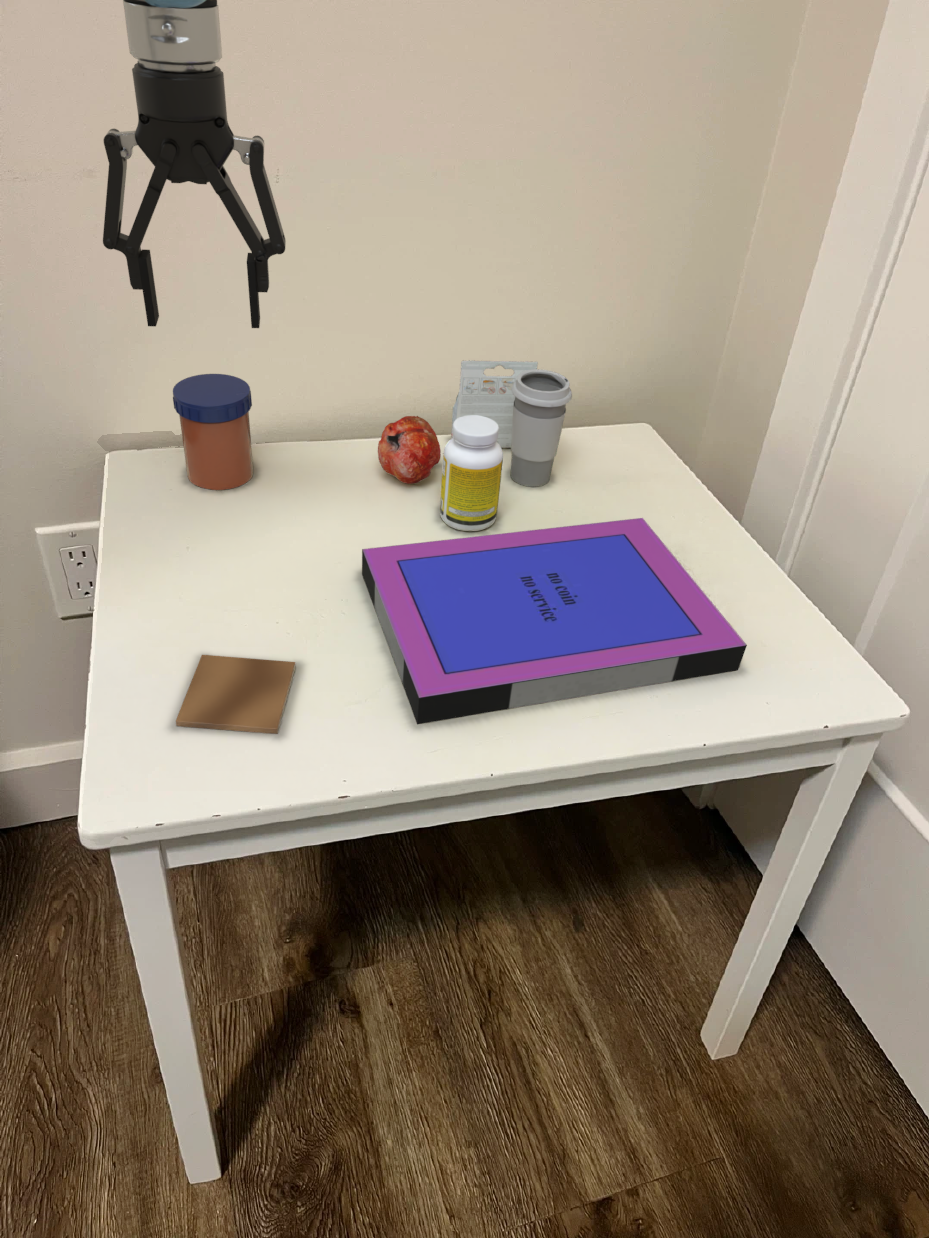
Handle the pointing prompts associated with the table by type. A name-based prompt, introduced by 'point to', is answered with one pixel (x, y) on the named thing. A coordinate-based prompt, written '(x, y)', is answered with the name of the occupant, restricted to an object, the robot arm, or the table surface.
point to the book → (542, 617)
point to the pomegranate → (409, 449)
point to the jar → (218, 453)
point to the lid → (212, 398)
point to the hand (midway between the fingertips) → (205, 322)
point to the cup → (537, 424)
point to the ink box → (489, 394)
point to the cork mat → (237, 694)
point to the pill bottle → (471, 474)
